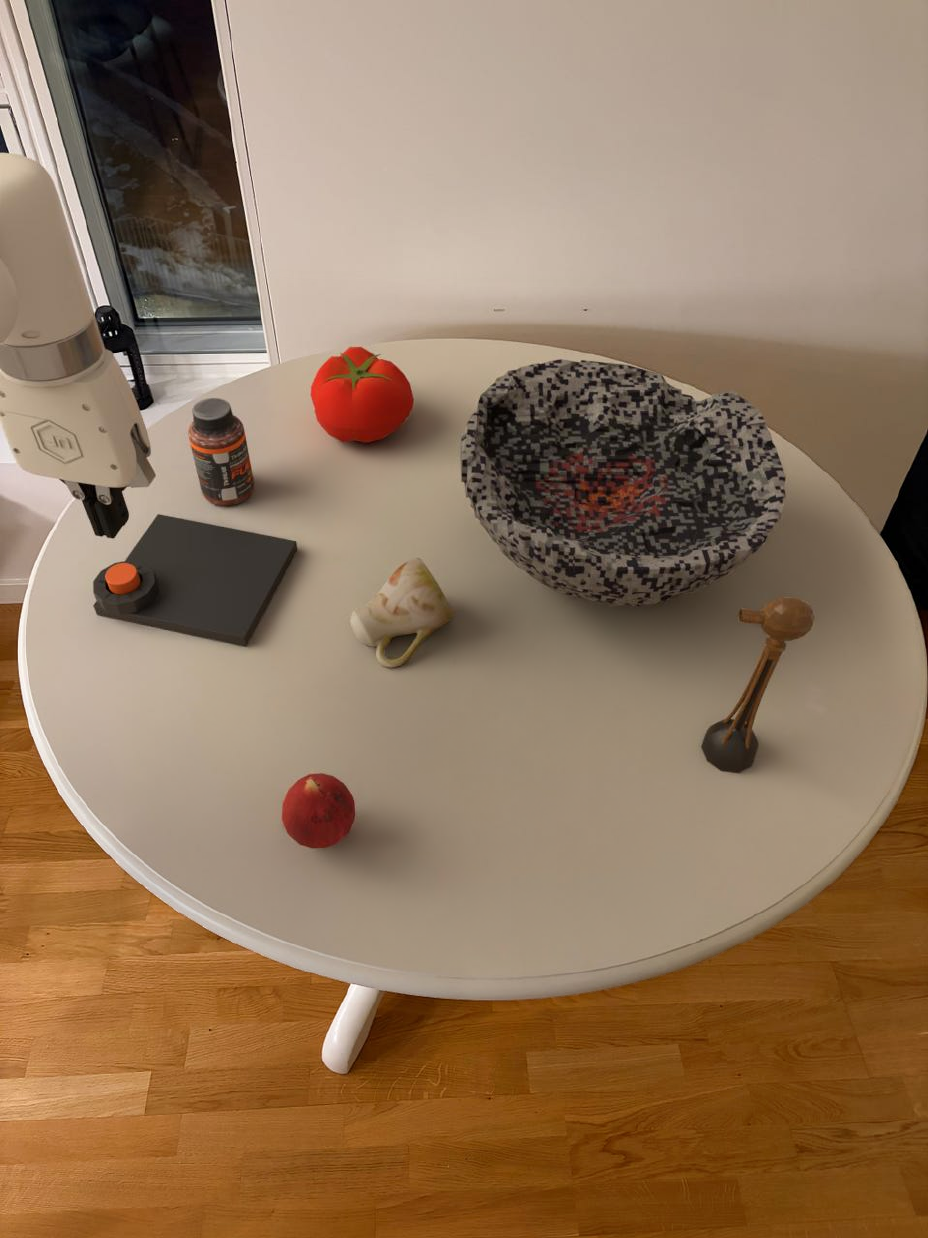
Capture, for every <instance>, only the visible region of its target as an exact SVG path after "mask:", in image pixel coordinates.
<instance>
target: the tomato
mask: <svg viewBox="0 0 928 1238" xmlns="http://www.w3.org/2000/svg"><path fill="white" fill-rule="evenodd" d="M381 355H382V353H379V354H375V353H374V352H371V351H369V350H367V349H366V348H364V347H362V346H349V347H348V348H347V349H346V350H345V351H343V352H340V355H339V356H338V355H335V356H334V355H333V356H332V355H331V356H330V357H329V358H328V359H327V360H326V361H325V362H323V364H322V365H321V366H320V367H319V368H318V370H317V372H316V374H315V377H314V379H313V381H312V383H311V386H310V398H311V401H312V405H313V408H314V414H315V417H316V422H318V424H319V425H320V427H321V429H323V430H324V431H325V433H326V434H328V435H329V436H330V437H332V438H334V439H336V440H337V441H340V442H342V443H347V442H352V441H357V442H360V443H361V442H362V443H372V442H375V441H380V440H383V438H385V437H388V435H391V434H392V433H394V432H396V431H397V430H398V429H399V428H400V427H401V426H402V425H404V423H406V421H407V419H408V418H409V416H410V415H411V413H412V411H413V407H414V401H415V400H414V399H415V398H414V395H413V390H412V386H411V382H410V381H409V379H408V378H407V377H406V374H405V373H404V372H402V370H401V369H400V367H398V366H397V365H396V364H395V363H393V362H392V361H391V360H387V359H383V358H378V357H379V356H381Z"/></svg>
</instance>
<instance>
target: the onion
mask: <svg viewBox="0 0 928 1238" xmlns="http://www.w3.org/2000/svg"><path fill="white" fill-rule="evenodd" d="M281 806H282V807H281V822H282V824H283V827H284V829H285V832H286V834H287V835H288V836H289V837H290V838H291V839H292V840H293V841H294V842H296V843H297V844H298V845H300V846H303V847H305V848H309V849H311V850H313V849H314V850H316V849H317V850H318V849H327V848H330V847H332V846H334V845H337V844H338V843H340V842H341V841H342V840H343V839H345V837H347V836H348V835H349V834H350V832H351V831H352V827H353V825H354V824H355V820H356V814H357V813H356V802H355V798H354V796H353V794H352V792H351V791H350V790H349V788H348V787H347V785H346V784H345V783H344V782H343V781H342V780H340V779H338V778H337V777H336V776H334V775H332V774H328V773H322V772H318V773H317V772H316V773H309V774H307V775H305V776H303V777H301V778H299V779H297V780H296V781H295V782H294V783H293V784H292V785H291V786H290V787H289V788H288V790H287V792H286V794H285V797H284V799H283V801H282V805H281Z"/></svg>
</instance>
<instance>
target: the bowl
mask: <svg viewBox="0 0 928 1238" xmlns="http://www.w3.org/2000/svg"><path fill="white" fill-rule="evenodd" d="M477 402H478V403H477V408H476V411H475V412H473V413H472V414H471V415H470V417H469V419H468V421H467V423H466V428H465V433H461V434H460V480H461V481H460V482H461V483H464V490H465V492H464V493H465V498H469V500H470V507H471V508H472V509H473V513H474V517H475V518H476V519H478V520H479V524H480V525H481V526H482V527H483V528H484V529H485V531H486V533H487V534H488V536H489V537H490V538H491V540H492V542H494V543H495V544H496V545H497V546H498V548H499V550H500V551H501V553H502V554H503V555H504V556H505V557H507V559H509V560H510V561H511V562H512V563H513V564H514V565H515V566H516V567H517V568H518V569H521V570H523V571H525V572H526V573H527V574H528V575H529V576H531V578H533V579H535V580H536V581H538V582H540V583H541V584H542V585H544V586H547V587H549V588H550V589H552V590H554V592H558V593H561V595H565V596H570V597H571V596H572V597H576V598H580V599H584V600H588V601H594V602H598V603H602V604H603V603H604V604H609V605H610V607H615V606H616V607H617V606H629V607H641V605H657V603H659V602H666V601H668V600H671V599H676V598H678V597H681V596H682V595H686V594H691V593H696V592H697V591H698V590H702V589H704V588H705V587H709V586H710V585H711V584H712V583H714V582H717V581H718V580H720V579H722V578H723V577H725V576H728V575H729V574H730V573H731V572H733V571H735V570H737V569H739V567H740V566H741V565H743V563H744V562H745V561H746V560H747V559H748V558H749V557H751V556H752V555H753V554H755V553H756V552H757V551H759V549H760V548H761V547H762V546H763V545H764V544H765V543H766V542H767V539H768V537H769V535H770V534H771V532H772V530H773V528H774V526H775V524H776V523H778V522H779V521H780V520H781V518H782V517H781V516H782V512H783V509H784V507H785V505H784V499H786V498H787V496H786V488H785V485H786V478H787V477H786V476H787V475H786V474H785V470H784V466H783V464H782V461H781V458H780V456H779V453H778V449H777V446H776V445H775V443H774V442H773V438H772V434H771V431H770V430H769V429H768V427H767V426H766V420H765V418H764V416H763V414H762V412H761V410H760V409H758V408H757V407H755V406H753V404H752V403H751V402H749V400H747V399H745V398H743V397H741V396H740V394H739V393H738V392H737V391H733V390H732V391H726V392H723V393H714V392H712V395H711V396H709V397H706V398H704V399H702V400H696V399H695V398H694V397H693V395H689V394H685V393H683V391H682V389H681V388H677V387H674V386H673V385H672V384H670V383H669V382H667V381H666V379H665V377H664V375H663V374H662V373H660V372H655V371H652V370H648V369H644V368H640V367H636V366H633V365H629V364H622V363H613V362H605V361H596V360H595V361H594V360H585V359H581V360H580V361H575V360H569V359H563V358H562V359H561V358H560V359H554V360H549V361H545V362H543V363H532V364H529V365H524V366H519V368H517V369H511V370H508V371H506V373H504V374H503V375H502V376H499V377H497V378H496V379H495V380H494V382H493V383H492V384H490V386H489V387H487V389H486V390H485V391H483V392H482V393H481V394H480V396H479V399H478V401H477Z"/></svg>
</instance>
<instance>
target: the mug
mask: <svg viewBox="0 0 928 1238" xmlns="http://www.w3.org/2000/svg"><path fill="white" fill-rule="evenodd" d="M454 617H455V615H454V611H453V609H452V607H451V604H450V602H449V601H448V599H447V597H446V595H445V593H444V592H443V590H442V588H441V586H440V584H439V583H438V581H437V580H436V578H435V577H434V575H433V573H432V572H431V571H430V569H429V568H428V566H427V565H426V563H425V562H424V561H423V560H422V559H421V558H420V557H416V558H413V559H411V560H408V561H405V562H404V563H403V564H401V565H400V566H399V567H398V568H397V569H395V570H394V572H393V573H392V574H391V575H390V577H389V578H388V579H387V580H386V582H385V583H384V584H383V586H382V587H381V588H380V590H379V591H378V592H377V593H376V594H375V596H374V597H372V598H371V599H370V600H369V601H368V602H366V603H365V604H363V605H361V606H359V607H358V608H356V609H355V610H353V611H352V613H351V616H350V619H349V624H350V626H351V630H352V632H353V634H354V636H355V637H356V638H357V639H358V641H359V642H360V643H362V644H363V645H365V646H367V647H368V646H369V647H376V651H375V658H376V661H377V662H378V663H379V665H381V666H383V667H385V668H396V667H399V666H401V665H403V664H404V663H407V662H408V660H409V659H411V657H412V656H413V655H414V653H415V651H417V649H418V647H419V646H420V645H421V644H422V643H423V642H424V640H425V639H427V638H428V637H429V636H430V635H432V634H433V633H434V631H435V630H436V629H439V628H441V627H443V626H444V625H446V624H448V622H450V621H451V620H453V618H454ZM411 634H416V635H415V637H414V639H413V641H412V642H411V645H410V646H409V647H408V648H407V650H406V651H405V652H404V653H403V655H401V656H400V657H399V658H395V659H394V658H393V659H391V658H389V657H388V656H387V655H386V653H385V650H386V648H387V646H388V645H390V643H391V640H392V638H395V637H397V636H403V635H411Z"/></svg>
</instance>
